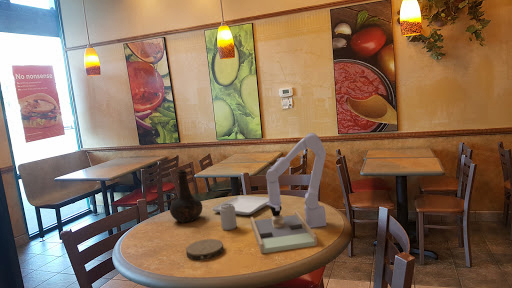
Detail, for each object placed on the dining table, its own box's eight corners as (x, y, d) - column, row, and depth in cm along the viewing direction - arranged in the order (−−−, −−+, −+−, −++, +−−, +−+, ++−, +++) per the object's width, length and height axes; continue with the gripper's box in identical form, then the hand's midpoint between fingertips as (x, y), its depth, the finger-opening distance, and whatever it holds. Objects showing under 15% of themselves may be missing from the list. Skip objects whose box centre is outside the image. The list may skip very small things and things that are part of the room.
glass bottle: (185, 213, 225) (179, 166, 221) (210, 215, 217) (204, 166, 213) (164, 223, 210) (157, 173, 206) (190, 226, 201) (184, 174, 197)
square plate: (275, 203, 228) (275, 197, 227) (250, 218, 205) (249, 211, 204) (238, 200, 242) (237, 194, 242) (210, 214, 219) (210, 207, 219)
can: (234, 230, 188) (232, 207, 187) (220, 230, 190) (217, 207, 188) (238, 225, 196) (236, 202, 194) (224, 225, 197) (221, 202, 196)
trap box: (297, 218, 197) (296, 210, 196) (317, 245, 161) (316, 236, 161) (251, 224, 194) (250, 217, 193) (261, 253, 159) (260, 244, 158)
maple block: (282, 223, 186) (281, 215, 186) (284, 226, 181) (283, 218, 181) (272, 224, 186) (271, 216, 185) (273, 227, 181) (273, 219, 180)
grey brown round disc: (188, 247, 173) (187, 241, 173) (223, 243, 174) (223, 237, 174) (184, 263, 158) (184, 256, 157) (223, 258, 159) (222, 251, 158)
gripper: (263, 191, 192) (266, 217, 194) (268, 198, 178) (270, 226, 180) (277, 189, 193) (280, 215, 195) (283, 196, 179) (285, 224, 181)
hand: (276, 220), depth 187 cm, fingers closed
